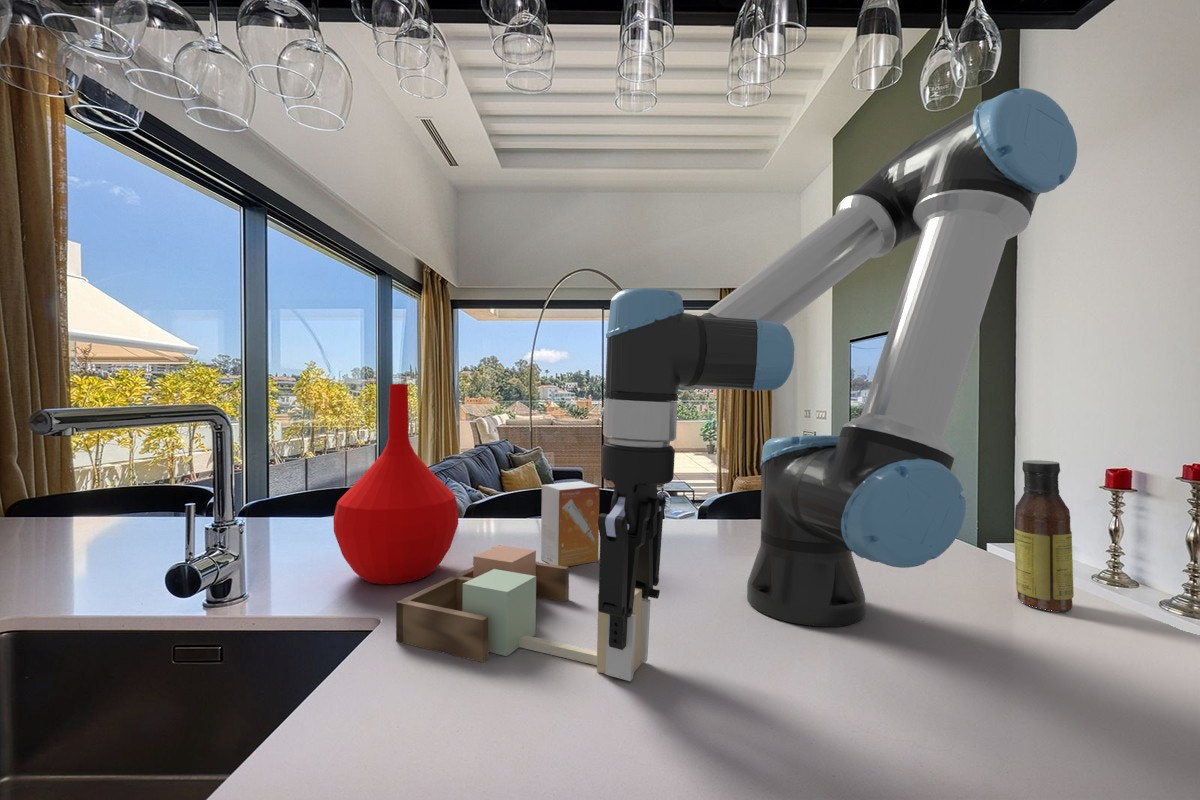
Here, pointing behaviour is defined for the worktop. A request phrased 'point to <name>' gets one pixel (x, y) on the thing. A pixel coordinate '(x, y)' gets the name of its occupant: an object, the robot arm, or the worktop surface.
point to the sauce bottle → (1043, 540)
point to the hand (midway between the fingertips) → (627, 666)
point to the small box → (570, 523)
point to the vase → (396, 510)
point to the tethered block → (531, 618)
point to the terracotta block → (505, 561)
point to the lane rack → (462, 614)
